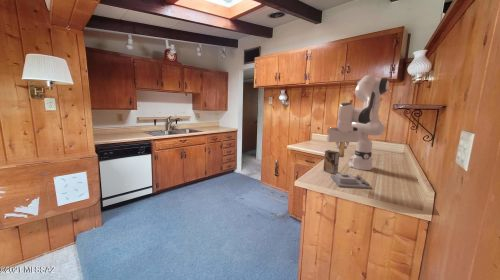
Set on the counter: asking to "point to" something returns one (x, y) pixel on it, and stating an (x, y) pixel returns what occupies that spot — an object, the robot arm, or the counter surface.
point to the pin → (341, 149)
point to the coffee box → (331, 161)
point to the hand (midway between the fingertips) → (341, 148)
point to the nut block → (350, 181)
